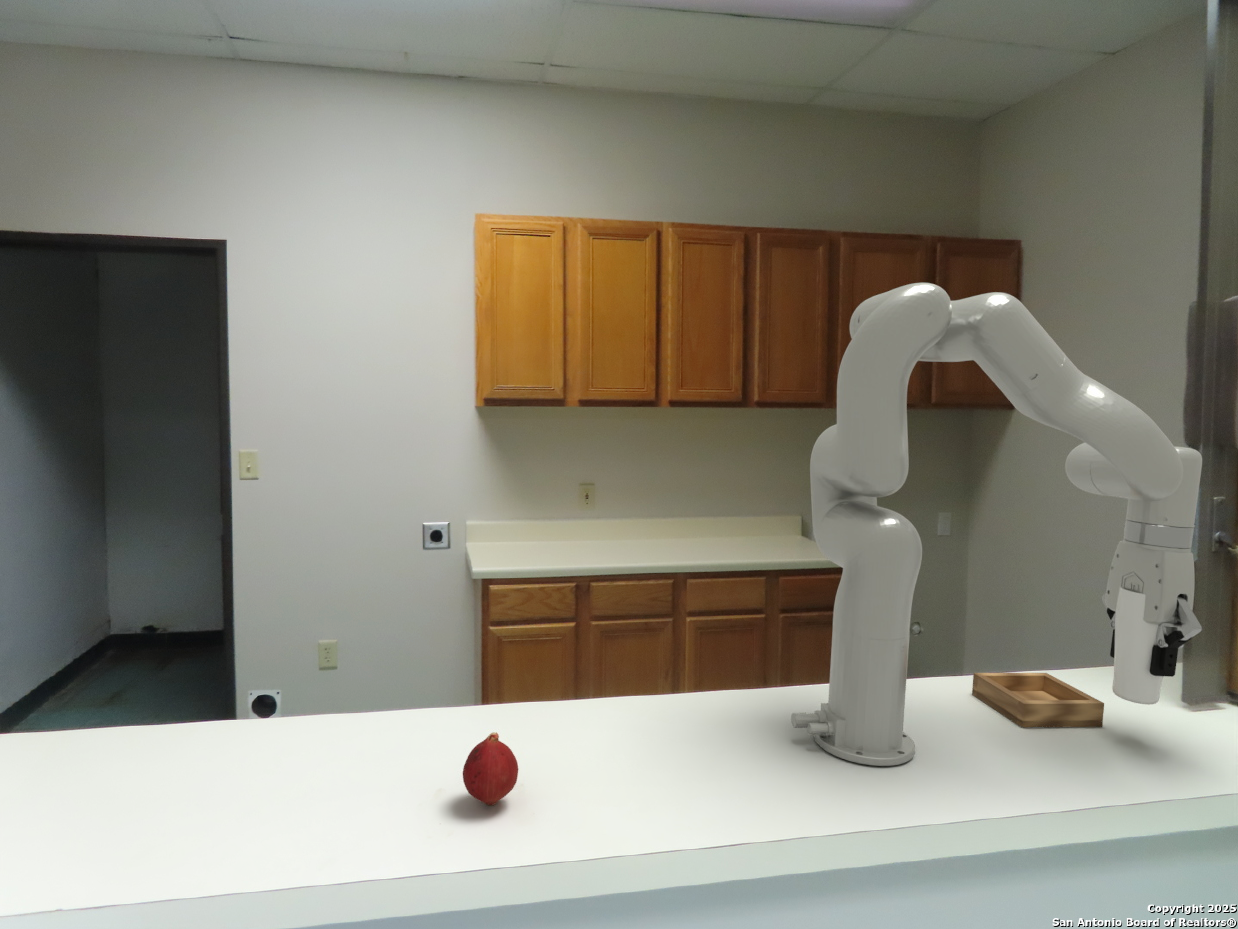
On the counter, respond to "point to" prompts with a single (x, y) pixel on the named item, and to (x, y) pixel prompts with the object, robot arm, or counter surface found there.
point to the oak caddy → (1037, 700)
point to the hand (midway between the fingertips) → (1141, 665)
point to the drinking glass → (1134, 651)
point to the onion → (490, 770)
